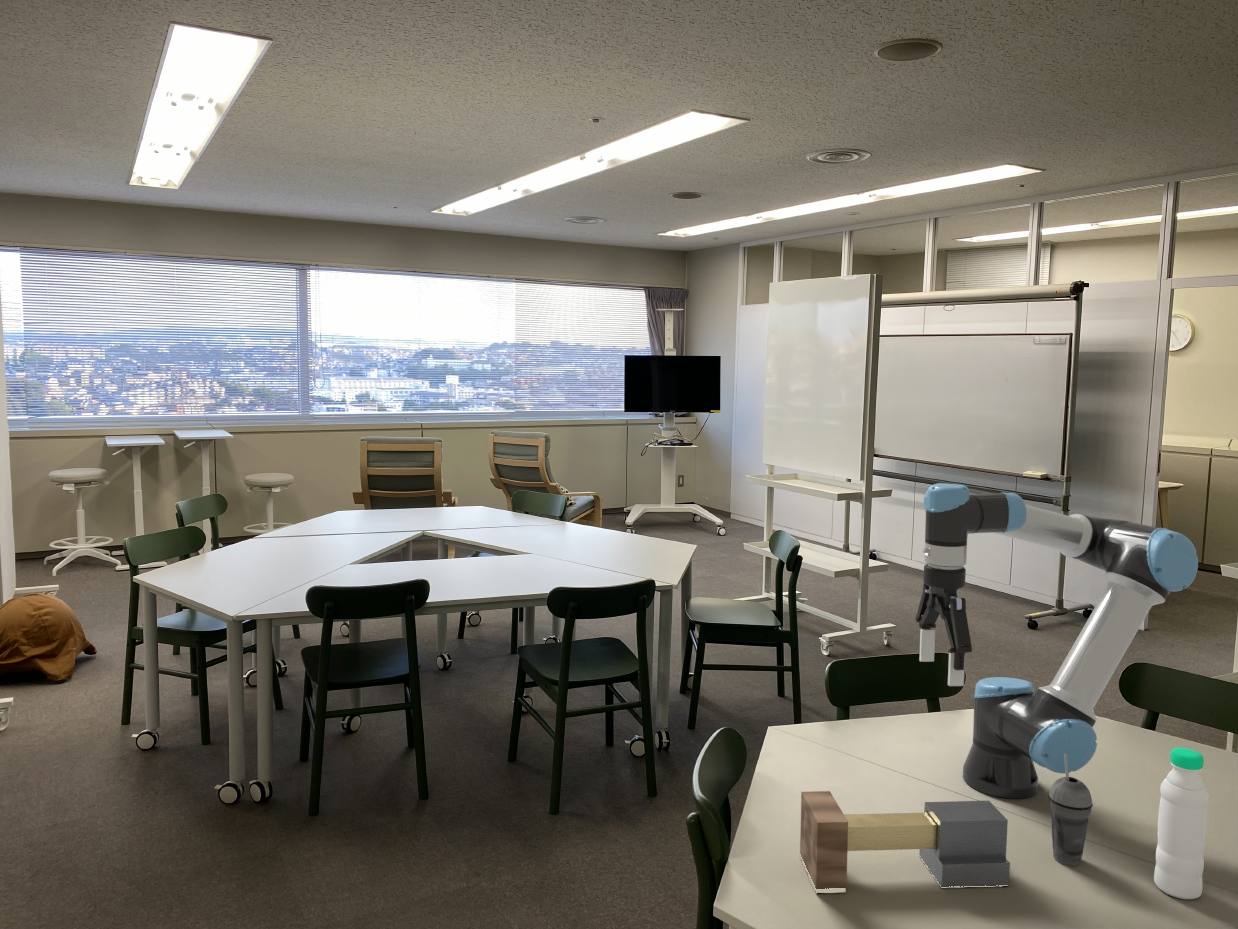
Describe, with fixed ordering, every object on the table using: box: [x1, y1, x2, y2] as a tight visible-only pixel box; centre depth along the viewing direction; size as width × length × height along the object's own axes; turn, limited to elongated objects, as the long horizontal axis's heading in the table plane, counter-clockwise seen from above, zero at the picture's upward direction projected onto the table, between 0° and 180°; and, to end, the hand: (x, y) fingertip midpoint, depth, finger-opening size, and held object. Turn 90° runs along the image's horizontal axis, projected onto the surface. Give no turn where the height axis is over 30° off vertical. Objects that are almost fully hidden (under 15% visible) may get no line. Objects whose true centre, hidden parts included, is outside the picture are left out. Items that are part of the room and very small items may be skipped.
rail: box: [843, 812, 938, 852], centre depth 155 cm, size 4×22×4 cm, turn 93°
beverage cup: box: [1048, 754, 1094, 867], centre depth 159 cm, size 7×7×20 cm
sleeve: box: [918, 800, 1011, 888], centre depth 156 cm, size 10×12×12 cm
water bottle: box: [1153, 747, 1210, 900], centre depth 150 cm, size 7×7×25 cm
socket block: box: [799, 790, 848, 889], centre depth 155 cm, size 11×5×13 cm, turn 3°
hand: (940, 672), depth 168 cm, fingers open, 13 cm apart
